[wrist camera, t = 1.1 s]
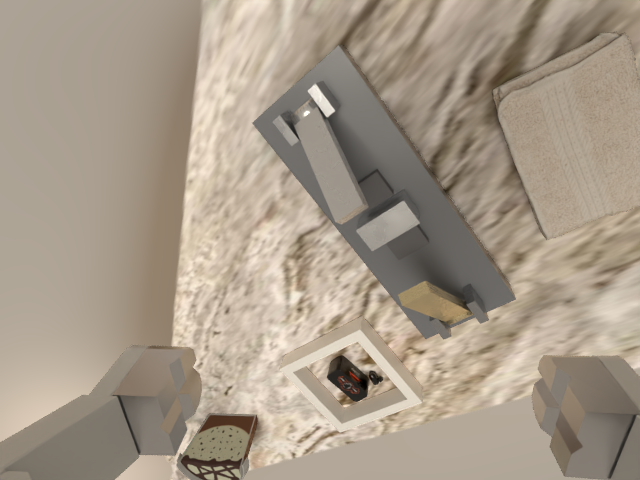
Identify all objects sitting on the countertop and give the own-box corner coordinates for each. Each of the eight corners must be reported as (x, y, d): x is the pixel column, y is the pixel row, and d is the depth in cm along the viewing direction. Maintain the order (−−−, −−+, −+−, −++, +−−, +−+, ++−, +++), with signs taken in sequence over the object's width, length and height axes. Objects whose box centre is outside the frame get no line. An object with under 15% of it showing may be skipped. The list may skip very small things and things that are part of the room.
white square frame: (362, 315, 54) (360, 329, 52) (422, 386, 58) (422, 402, 55) (284, 355, 61) (279, 369, 58) (342, 416, 64) (340, 432, 62)
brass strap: (424, 277, 36) (431, 295, 35) (468, 301, 46) (475, 315, 45) (396, 291, 37) (403, 308, 36) (445, 312, 47) (451, 326, 46)
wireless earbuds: (361, 389, 61) (359, 406, 58) (329, 361, 60) (325, 376, 57) (383, 376, 59) (382, 393, 56) (350, 346, 58) (347, 362, 55)
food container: (212, 436, 74) (186, 489, 65) (202, 413, 71) (173, 464, 63) (272, 438, 71) (253, 495, 62) (264, 414, 68) (242, 469, 59)
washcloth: (613, 21, 35) (630, 19, 32) (662, 190, 40) (680, 201, 38) (481, 91, 40) (486, 94, 37) (540, 235, 45) (549, 247, 42)
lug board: (343, 44, 40) (332, 45, 34) (510, 285, 48) (523, 317, 42) (261, 118, 45) (240, 129, 39) (424, 324, 53) (426, 358, 47)
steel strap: (320, 101, 39) (309, 93, 38) (370, 207, 34) (361, 203, 33) (298, 120, 40) (287, 113, 39) (343, 225, 35) (333, 221, 34)
